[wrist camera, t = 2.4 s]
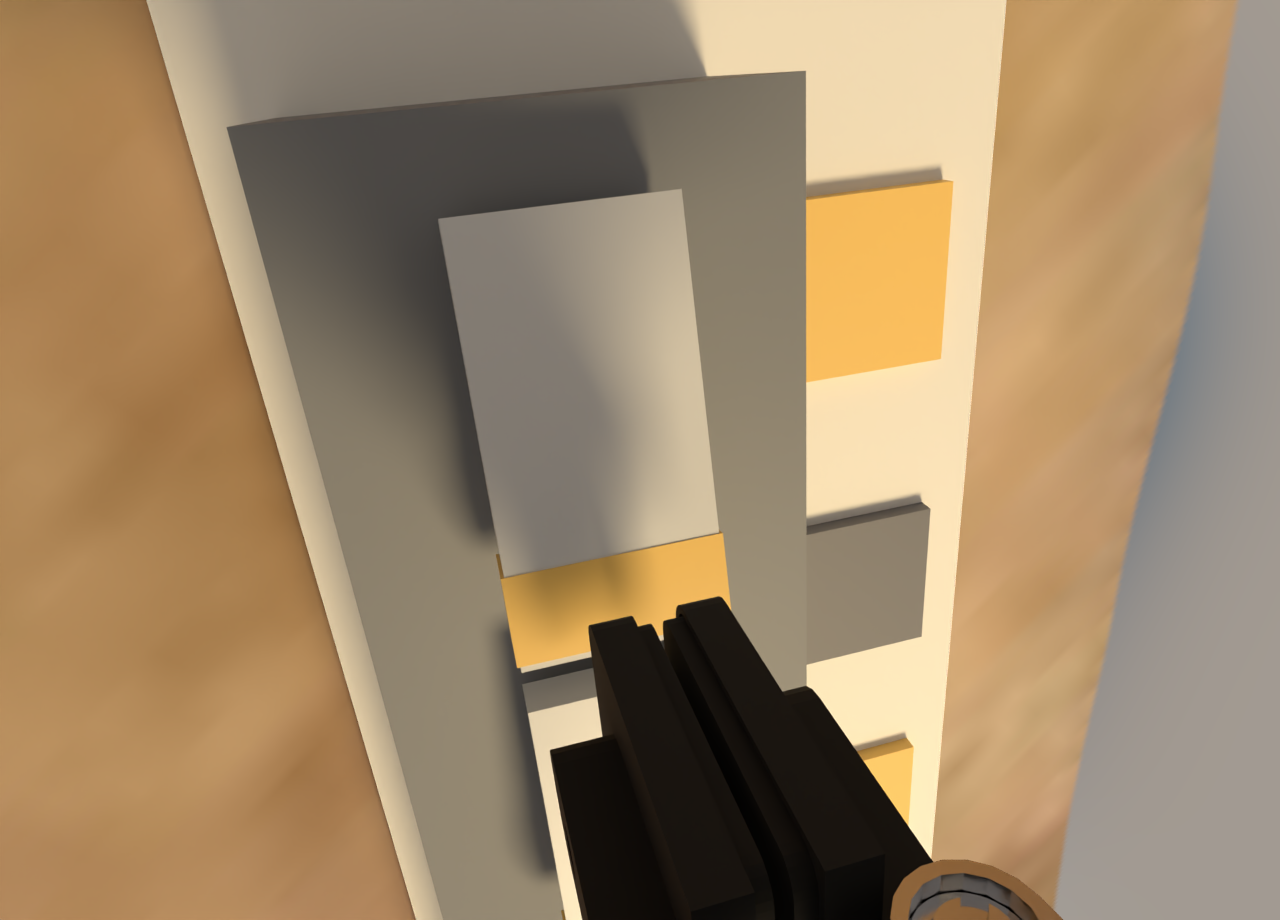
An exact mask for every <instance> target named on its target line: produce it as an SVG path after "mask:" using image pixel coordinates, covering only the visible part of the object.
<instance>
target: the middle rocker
mask: <svg viewBox="0 0 1280 920" xmlns="http://www.w3.org/2000/svg"><path fill="white" fill-rule="evenodd" d="M522 686H523V692H524V697H525V703H526V708H527V713H528V719H529V724H530V730H531V735H532V741H533V746H534V751H535V757H536V762H537V768H538V773H539V779H540V784H541V789H542V795H543V800H544V806H545V811H546V817H547V822H548V828H549V833H550V838H551V844H552V849H553V855H554V860H555V866H556V871H557V876H558V882H559V887H560V893H561V898H562V904H563V909H564V910H561V913H562V918H563V920H582V916H581V912H580V907H579V902H578V898H577V893H576V888H575V884H574V879H573V874H572V870H571V865H570V860H569V855H568V850H567V845H566V840H565V835H564V830H563V825H562V820H561V814H560V809H559V803H558V798H557V792H556V786H555V781H554V775H553V769H552V763H551V757H550V750H551V749H555V748H559V747H563V746H567V745H571V744H575V743H579V742H583V741H587V740H591V739H595V738H599V737H602V730H601V722H600V715H599V708H598V700H597V693H596V686H595V678H594V671H593V668H590V669H586V670H581V671H577V672H573V673H569V674H564V675H560V676H556V677H551V678H547V679H543V680H539V681H534V682H530V683H526V684H522Z"/></svg>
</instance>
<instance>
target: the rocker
mask: <svg viewBox="0 0 1280 920" xmlns="http://www.w3.org/2000/svg"><path fill="white" fill-rule="evenodd" d="M438 225H439V230H440V235H441V241H442V246H443V252H444V257H445V263H446V268H447V274H448V279H449V284H450V290H451V295H452V301H453V306H454V312H455V317H456V323H457V328H458V333H459V339H460V344H461V350H462V355H463V361H464V366H465V372H466V377H467V382H468V388H469V393H470V399H471V404H472V410H473V415H474V420H475V426H476V431H477V437H478V442H479V448H480V453H481V459H482V464H483V469H484V475H485V480H486V486H487V491H488V497H489V502H490V508H491V513H492V518H493V524H494V529H495V535H496V540H497V546H498V551H499V554H496V559H497V564H498V570H499V575H500V580H501V586H502V591H503V597H504V602H505V607H506V613H507V618H508V624H509V629H510V635H511V640H512V645H513V650H514V655H515V660H516V665H517V668H521V672H522V673H524V672H528V671H532V670H537V669H541V668H545V667H550V666H554V665H558V664H563V663H567V662H571V661H576V660H580V659H584V658H589V657H592V656H591V649H590V641H589V633H588V627H589V625H592V624H596V623H601V622H605V621H610V620H614V619H619V618H623V617H628V616H633V617H634V619H635V621H636V623H637V626H642V625H646V624H652V625H653V627H654V628H655V631H656V633H657V635H658V637H659V639H660V641H662V640H664V638H663V622H664V620H668V619H673V618H676V607H677V606H678V605H681V604H686V603H690V602H695V601H699V600H704V599H708V598H713V597H717V596H720V597H722V598H723V599H724V601H725V602H726V603H727V605H728V607H729V608H730V610H731V603H730V594H729V585H728V576H727V566H726V557H725V548H724V539H723V533H722V532H721V531H720V530H719V526H718V517H717V508H716V499H715V490H714V480H713V471H712V462H711V453H710V444H709V435H708V425H707V416H706V407H705V398H704V389H703V380H702V371H701V361H700V352H699V343H698V334H697V325H696V316H695V306H694V297H693V288H692V279H691V270H690V261H689V251H688V242H687V233H686V224H685V215H684V206H683V197H682V189H676V190H668V191H660V192H652V193H644V194H636V195H628V196H619V197H611V198H603V199H595V200H587V201H579V202H571V203H562V204H554V205H546V206H538V207H530V208H522V209H514V210H506V211H497V212H489V213H481V214H473V215H465V216H457V217H449V218H440V219H438Z"/></svg>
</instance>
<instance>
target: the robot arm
mask: <svg viewBox="0 0 1280 920" xmlns="http://www.w3.org/2000/svg"><path fill="white" fill-rule="evenodd" d="M588 633H589V641H590V649H591V656H592V664H593V671H594V678H595V686H596V693H597V700H598V708H599V715H600V722H601V730H602V737H599V738H595V739H591V740H587V741H583V742H579V743H575V744H571V745H567V746H563V747H559V748H555V749H551V750H550V757H551V763H552V769H553V775H554V781H555V786H556V792H557V798H558V803H559V809H560V814H561V820H562V825H563V830H564V835H565V840H566V845H567V850H568V855H569V860H570V865H571V870H572V874H573V879H574V884H575V888H576V893H577V898H578V902H579V907H580V912H581V916H582V920H1063V919H1062V918H1061V917H1060V916H1059V915H1058V914H1057V913H1056V912H1055V911H1054V910H1053V909H1052V908H1051V907H1050V906H1049V905H1048V904H1047V903H1046V902H1045V901H1044V900H1043V899H1042V898H1041V897H1040V896H1039V895H1038V894H1036V893H1035V892H1034V891H1033V890H1031V889H1030V888H1029V887H1028V886H1026V885H1025V884H1024V883H1023V882H1021V881H1020V880H1019V879H1018V878H1016V877H1014V876H1012V875H1010V874H1008V873H1006V872H1004V871H1002V870H1000V869H998V868H996V867H994V866H990V865H986V864H982V863H978V862H974V861H970V860H940V861H936V862H933V861H932V859H931V858H930V857H929V855H928V854H927V852H926V851H925V849H924V848H923V846H922V845H921V844H920V842H919V841H918V839H917V838H916V836H915V835H914V833H913V832H912V831H911V829H910V828H909V826H908V825H907V823H906V822H905V820H904V819H903V817H902V816H901V815H900V813H899V812H898V810H897V809H896V807H895V806H894V804H893V803H892V802H891V800H890V799H889V797H888V796H887V794H886V793H885V791H884V790H883V789H882V787H881V786H880V784H879V783H878V781H877V780H876V778H875V777H874V775H873V774H872V773H871V771H870V770H869V768H868V767H867V765H866V764H865V762H864V761H863V760H862V758H861V757H860V755H859V754H858V752H857V751H856V749H855V748H854V747H853V745H852V744H851V742H850V741H849V739H848V738H847V736H846V735H845V733H844V732H843V731H842V729H841V728H840V726H839V725H838V723H837V722H836V720H835V719H834V718H833V716H832V715H831V713H830V712H829V710H828V709H827V707H826V706H825V705H824V703H823V702H822V700H821V699H820V697H819V696H818V695H817V694H816V693H815V692H814V690H813V689H811V688H809V687H808V686H803V687H799V688H795V689H791V690H787V691H783V692H782V690H781V688H780V687H779V685H778V684H777V682H776V681H775V679H774V677H773V676H772V674H771V673H770V671H769V670H768V668H767V666H766V665H765V663H764V662H763V660H762V659H761V657H760V655H759V654H758V652H757V651H756V649H755V647H754V646H753V644H752V643H751V641H750V640H749V638H748V636H747V635H746V633H745V632H744V630H743V629H742V627H741V625H740V624H739V622H738V621H737V619H736V618H735V616H734V614H733V613H732V611H731V610H730V608H729V607H728V605H727V603H726V602H725V601H724V599H723V598H722V597H720V596H717V597H713V598H708V599H704V600H699V601H695V602H690V603H686V604H681V605H678V606H677V607H676V618H673V619H668V620H664V622H663V638H664V648H663V645H662V643H661V641H660V639H659V637H658V635H657V633H656V631H655V628H654V627H653V625H652V624H646V625H642V626H637V623H636V621H635V619H634V617H633V616H628V617H623V618H619V619H614V620H610V621H605V622H601V623H596V624H592V625H589V627H588ZM664 649H665V650H664Z"/></svg>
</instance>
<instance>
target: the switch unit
mask: <svg viewBox="0 0 1280 920" xmlns="http://www.w3.org/2000/svg"><path fill="white" fill-rule="evenodd" d="M146 1H147V4H148V7H149V11H150V14H151V18H152V21H153V24H154V28H155V31H156V35H157V38H158V41H159V45H160V48H161V52H162V55H163V59H164V62H165V65H166V69H167V72H168V76H169V79H170V82H171V86H172V89H173V93H174V96H175V99H176V103H177V106H178V110H179V113H180V116H181V120H182V123H183V127H184V130H185V134H186V137H187V140H188V144H189V147H190V151H191V154H192V157H193V161H194V164H195V168H196V171H197V174H198V178H199V181H200V185H201V188H202V191H203V195H204V198H205V202H206V205H207V209H208V212H209V215H210V219H211V222H212V226H213V229H214V232H215V236H216V239H217V243H218V246H219V249H220V253H221V256H222V260H223V263H224V266H225V270H226V273H227V277H228V280H229V284H230V287H231V290H232V294H233V297H234V301H235V304H236V307H237V311H238V314H239V318H240V321H241V324H242V328H243V331H244V335H245V338H246V341H247V345H248V348H249V352H250V355H251V359H252V362H253V365H254V369H255V372H256V376H257V379H258V382H259V386H260V389H261V393H262V396H263V399H264V403H265V406H266V410H267V413H268V417H269V420H270V423H271V427H272V430H273V434H274V437H275V440H276V444H277V447H278V451H279V454H280V457H281V461H282V464H283V468H284V471H285V474H286V478H287V481H288V485H289V488H290V492H291V495H292V498H293V502H294V505H295V509H296V512H297V515H298V519H299V522H300V526H301V529H302V532H303V536H304V539H305V543H306V546H307V549H308V553H309V556H310V560H311V563H312V567H313V570H314V573H315V577H316V580H317V584H318V587H319V590H320V594H321V597H322V601H323V604H324V607H325V611H326V614H327V618H328V621H329V624H330V628H331V631H332V635H333V638H334V642H335V645H336V648H337V652H338V655H339V659H340V662H341V665H342V669H343V672H344V676H345V679H346V682H347V686H348V689H349V693H350V696H351V699H352V703H353V706H354V710H355V713H356V717H357V720H358V723H359V727H360V730H361V734H362V737H363V740H364V744H365V747H366V751H367V754H368V757H369V761H370V764H371V768H372V771H373V775H374V778H375V781H376V785H377V788H378V792H379V795H380V798H381V802H382V805H383V809H384V812H385V815H386V819H387V822H388V826H389V829H390V832H391V836H392V839H393V843H394V846H395V850H396V853H397V856H398V860H399V863H400V867H401V870H402V873H403V877H404V880H405V884H406V887H407V890H408V894H409V897H410V901H411V904H412V907H413V911H414V914H415V918H416V920H563V918H562V913H561V910H564V909H563V904H562V898H561V893H560V887H559V882H558V876H557V871H556V866H555V860H554V855H553V849H552V844H551V838H550V833H549V828H548V822H547V817H546V811H545V806H544V800H543V795H542V789H541V784H540V779H539V773H538V768H537V762H536V757H535V751H534V746H533V741H532V735H531V730H530V724H529V719H528V713H527V708H526V703H525V697H524V692H523V686H522V684H526V683H530V682H534V681H539V680H543V679H547V678H551V677H556V676H560V675H564V674H569V673H573V672H577V671H581V670H586V669H590V668H593V664H592V657H589V658H584V659H580V660H576V661H571V662H567V663H563V664H558V665H554V666H550V667H545V668H541V669H537V670H532V671H528V672H524V673H522V672H521V668H517V665H516V660H515V655H514V650H513V645H512V640H511V635H510V629H509V624H508V618H507V613H506V607H505V602H504V597H503V591H502V586H501V580H500V575H499V570H498V564H497V559H496V554H499V551H498V546H497V540H496V535H495V529H494V524H493V518H492V513H491V508H490V502H489V497H488V491H487V486H486V480H485V475H484V469H483V464H482V459H481V453H480V448H479V442H478V437H477V431H476V426H475V420H474V415H473V410H472V404H471V399H470V393H469V388H468V382H467V377H466V372H465V366H464V361H463V355H462V350H461V344H460V339H459V333H458V328H457V323H456V317H455V312H454V306H453V301H452V295H451V290H450V284H449V279H448V274H447V268H446V263H445V257H444V252H443V246H442V241H441V235H440V230H439V225H438V219H440V218H449V217H457V216H465V215H473V214H481V213H489V212H497V211H506V210H514V209H522V208H530V207H538V206H546V205H554V204H562V203H571V202H579V201H587V200H595V199H603V198H611V197H619V196H628V195H636V194H644V193H652V192H660V191H668V190H676V189H682V197H683V206H684V215H685V224H686V233H687V242H688V251H689V261H690V270H691V279H692V288H693V297H694V306H695V316H696V325H697V334H698V343H699V352H700V361H701V371H702V380H703V389H704V398H705V407H706V416H707V425H708V435H709V444H710V453H711V462H712V471H713V480H714V490H715V499H716V508H717V517H718V526H719V530H720V531H721V532H722V533H723V539H724V548H725V557H726V566H727V576H728V585H729V594H730V603H731V611H732V613H733V614H734V616H735V618H736V619H737V621H738V622H739V624H740V625H741V627H742V629H743V630H744V632H745V633H746V635H747V636H748V638H749V640H750V641H751V643H752V644H753V646H754V647H755V649H756V651H757V652H758V654H759V655H760V657H761V659H762V660H763V662H764V663H765V665H766V666H767V668H768V670H769V671H770V673H771V674H772V676H773V677H774V679H775V681H776V682H777V684H778V685H779V687H780V688H781V690H782V692H783V691H787V690H791V689H795V688H799V687H803V686H808V687H809V688H811V689H813V690H814V692H815V693H816V694H817V695H818V696H819V697H820V699H821V700H822V702H823V703H824V705H825V706H826V707H827V709H828V710H829V712H830V713H831V715H832V716H833V718H834V719H835V720H836V722H837V723H838V725H839V726H840V728H841V729H842V731H843V732H844V733H845V735H846V736H847V738H848V739H849V741H850V742H851V744H852V745H853V747H854V748H855V749H856V751H857V752H858V754H859V755H860V757H861V758H862V760H863V761H864V762H865V764H866V765H867V767H868V768H869V770H870V771H871V773H872V774H873V775H874V777H875V778H876V780H877V781H878V783H879V784H880V786H881V787H882V789H883V790H884V791H885V793H886V794H887V796H888V797H889V799H890V800H891V802H892V803H893V804H894V806H895V807H896V809H897V810H898V812H899V813H900V815H901V816H902V817H903V819H904V820H905V822H906V823H907V825H908V826H909V828H910V829H911V831H912V832H913V833H914V835H915V836H916V838H917V839H918V841H919V842H920V844H921V845H922V846H923V848H924V849H925V851H926V852H927V854H928V855H929V857H930V858H931V854H932V842H933V831H934V820H935V808H936V797H937V785H938V774H939V763H940V751H941V740H942V728H943V717H944V706H945V694H946V683H947V672H948V660H949V649H950V637H951V626H952V615H953V603H954V592H955V580H956V569H957V558H958V546H959V535H960V524H961V512H962V501H963V489H964V478H965V467H966V455H967V444H968V432H969V421H970V410H971V398H972V387H973V376H974V364H975V353H976V341H977V330H978V319H979V307H980V296H981V284H982V273H983V262H984V250H985V239H986V228H987V216H988V205H989V193H990V182H991V171H992V159H993V148H994V136H995V125H996V114H997V102H998V91H999V80H1000V68H1001V57H1002V45H1003V34H1004V23H1005V11H1006V0H146ZM661 643H662V645H663V648H664V640H662V641H661ZM664 650H665V649H664Z"/></svg>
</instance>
